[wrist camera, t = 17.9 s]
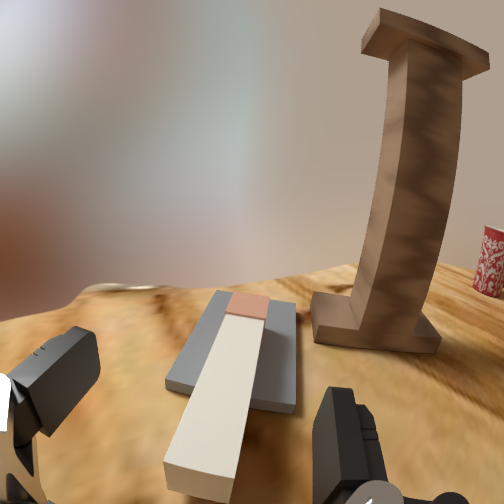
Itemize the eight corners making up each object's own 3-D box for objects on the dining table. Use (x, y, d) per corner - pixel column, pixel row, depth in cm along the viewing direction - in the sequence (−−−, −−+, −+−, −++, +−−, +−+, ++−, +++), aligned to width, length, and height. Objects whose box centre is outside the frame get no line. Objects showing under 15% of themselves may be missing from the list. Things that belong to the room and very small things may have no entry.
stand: (412, 319, 34) (456, 75, 25) (438, 358, 26) (495, 56, 16) (310, 306, 35) (351, 40, 26) (314, 348, 27) (368, 4, 18)
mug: (468, 290, 48) (487, 225, 44) (468, 279, 55) (483, 223, 51) (517, 308, 41) (537, 244, 37) (511, 295, 48) (528, 239, 44)
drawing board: (293, 311, 34) (295, 303, 33) (292, 414, 18) (295, 404, 18) (216, 297, 34) (216, 289, 34) (165, 388, 19) (165, 378, 19)
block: (264, 327, 28) (269, 296, 27) (230, 504, 10) (237, 476, 9) (230, 321, 28) (234, 290, 27) (166, 488, 11) (160, 458, 10)
